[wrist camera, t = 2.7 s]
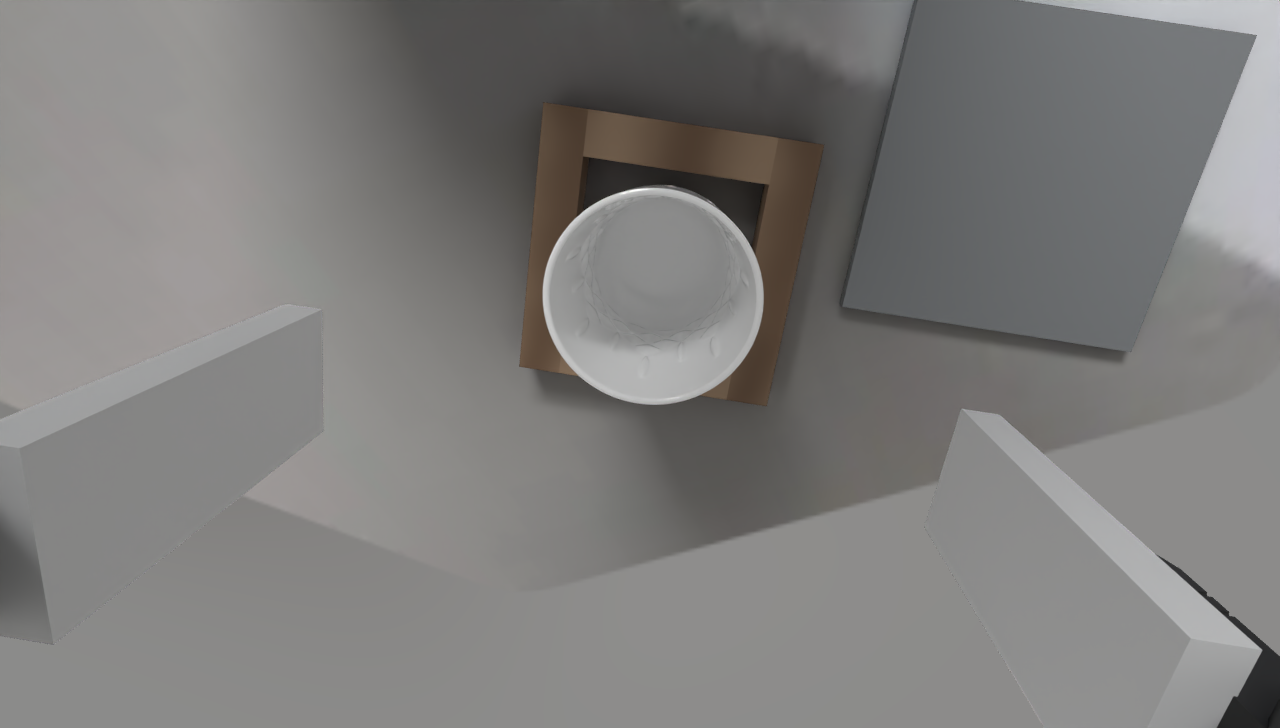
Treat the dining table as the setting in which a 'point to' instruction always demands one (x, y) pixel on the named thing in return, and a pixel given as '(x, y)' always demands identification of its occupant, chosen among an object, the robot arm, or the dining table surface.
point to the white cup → (653, 295)
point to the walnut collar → (688, 150)
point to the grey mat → (1038, 167)
